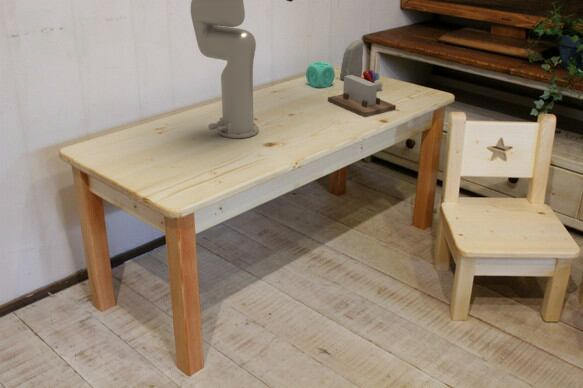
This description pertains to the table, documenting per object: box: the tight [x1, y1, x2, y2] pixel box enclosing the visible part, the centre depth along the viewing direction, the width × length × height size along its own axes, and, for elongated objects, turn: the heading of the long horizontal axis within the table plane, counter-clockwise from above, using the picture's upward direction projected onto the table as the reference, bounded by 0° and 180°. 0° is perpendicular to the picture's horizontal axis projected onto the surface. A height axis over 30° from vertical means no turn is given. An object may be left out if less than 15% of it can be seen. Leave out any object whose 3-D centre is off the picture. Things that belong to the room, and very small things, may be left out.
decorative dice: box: [305, 61, 336, 89], centre depth 242 cm, size 8×8×8 cm
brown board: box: [327, 93, 397, 118], centre depth 221 cm, size 14×20×4 cm
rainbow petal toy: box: [359, 69, 383, 91], centre depth 238 cm, size 8×10×7 cm
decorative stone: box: [339, 39, 364, 81], centre depth 249 cm, size 11×6×15 cm, turn 143°
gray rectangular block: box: [342, 75, 378, 106], centre depth 221 cm, size 4×14×7 cm, turn 33°
